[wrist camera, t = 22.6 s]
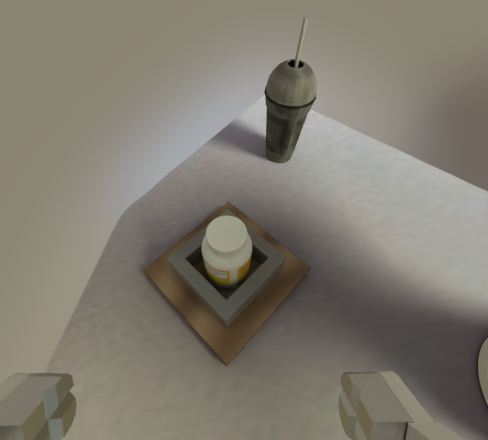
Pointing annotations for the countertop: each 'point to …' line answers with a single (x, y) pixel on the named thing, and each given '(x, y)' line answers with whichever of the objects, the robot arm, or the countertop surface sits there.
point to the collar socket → (227, 301)
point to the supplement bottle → (227, 252)
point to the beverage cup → (288, 104)
